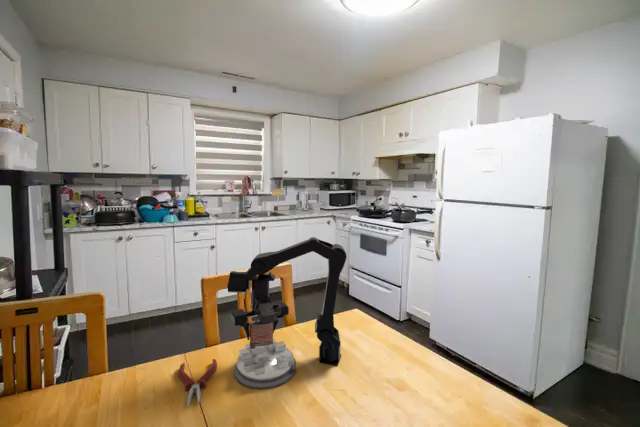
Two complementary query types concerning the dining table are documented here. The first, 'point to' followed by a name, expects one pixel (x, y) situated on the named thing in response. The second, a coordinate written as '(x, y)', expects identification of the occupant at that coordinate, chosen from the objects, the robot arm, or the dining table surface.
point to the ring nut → (265, 362)
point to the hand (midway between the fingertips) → (260, 336)
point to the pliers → (200, 383)
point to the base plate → (265, 384)
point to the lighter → (260, 333)
